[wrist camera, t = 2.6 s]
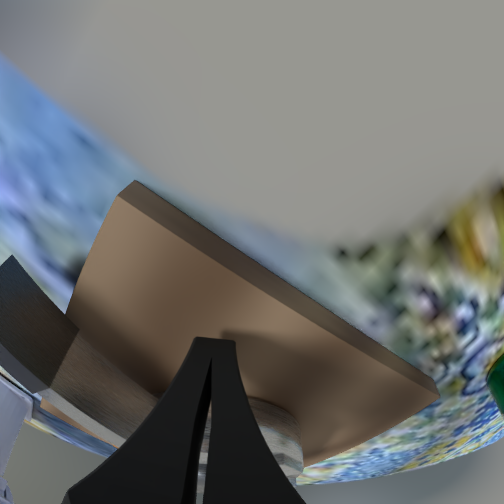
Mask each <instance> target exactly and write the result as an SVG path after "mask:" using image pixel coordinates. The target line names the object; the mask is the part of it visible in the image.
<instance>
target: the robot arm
mask: <svg viewBox="0 0 504 504" xmlns="http://www.w3.org/2000/svg"><path fill="white" fill-rule="evenodd" d="M210 402H211V429H210V438H209V448H208V457H207V467H206V476H205V486H204V495H203V504H306V503H305V502H304V500H303V499H302V498H301V496H300V495H299V494H298V493H297V491H296V490H295V488H294V487H293V486H292V484H291V483H290V481H289V480H288V478H287V477H286V475H285V474H284V472H283V470H282V469H281V467H280V466H279V464H278V463H277V461H276V459H275V457H274V456H273V454H272V452H271V450H270V448H269V447H268V445H267V443H266V441H265V439H264V437H263V435H262V433H261V430H260V428H259V426H258V424H257V421H256V419H255V417H254V414H253V412H252V409H251V406H250V404H249V401H248V398H247V395H246V392H245V389H244V385H243V382H242V378H241V374H240V370H239V366H238V360H237V353H236V342H235V341H233V340H227V339H217V338H207V337H198V336H197V337H195V338H194V339H193V341H192V344H191V346H190V349H189V351H188V353H187V355H186V357H185V359H184V361H183V363H182V365H181V366H180V368H179V370H178V372H177V373H176V375H175V377H174V378H173V380H172V382H171V383H170V385H169V386H168V388H167V390H166V391H165V392H164V394H163V395H162V397H161V398H160V400H159V401H158V402H157V404H156V405H155V407H154V408H153V409H152V411H151V412H150V413H149V415H148V416H147V417H146V418H145V420H144V421H143V422H142V423H141V424H140V426H139V427H138V428H137V429H136V430H135V431H134V432H133V434H132V435H131V436H130V437H129V438H128V439H127V440H126V441H125V442H124V443H123V444H122V445H121V446H120V447H119V448H118V449H117V450H116V451H115V452H114V453H113V454H112V455H111V456H110V457H109V458H107V459H106V460H105V461H104V462H103V463H102V464H101V465H100V466H98V467H97V468H96V469H95V470H94V471H92V472H91V473H90V474H89V475H87V476H86V477H85V478H83V479H82V480H80V481H79V482H78V483H76V484H75V485H73V486H72V487H71V488H69V490H68V491H67V492H66V494H65V496H64V499H63V501H62V503H61V504H196V496H197V495H196V494H197V482H198V470H199V459H200V453H201V447H202V442H203V437H204V432H205V427H206V422H207V417H208V412H209V407H210ZM32 409H33V399H32V398H31V397H30V396H28V395H27V394H26V393H24V392H23V391H21V390H20V389H18V388H17V387H16V386H14V385H13V384H11V383H10V382H9V381H7V380H6V379H5V378H3V377H2V376H1V375H0V475H1V476H3V474H4V471H5V468H6V465H7V462H8V459H9V457H10V454H11V451H12V448H13V446H14V443H15V441H16V438H17V436H18V433H19V431H20V428H21V426H22V423H23V421H24V419H26V420H27V421H31V418H32ZM0 504H14V503H13V497H12V494H11V492H10V489H9V487H8V485H7V481H6V480H5V479H3V478H2V477H0Z"/></svg>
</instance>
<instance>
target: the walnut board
mask: <svg viewBox="0 0 504 504" xmlns="http://www.w3.org/2000/svg"><path fill="white" fill-rule="evenodd" d="M65 315H66V316H67V317H68V318H69V319H70V320H71V321H72V322H73V323H74V324H75V325H76V326H77V327H78V328H79V329H80V330H79V332H78V334H79V335H80V336H81V337H82V338H83V339H84V340H85V341H86V342H87V343H88V344H89V345H91V346H92V347H93V348H94V349H95V350H96V351H97V352H98V353H100V354H101V355H102V356H103V357H104V358H105V359H107V360H108V361H109V362H110V363H111V364H113V365H114V366H115V367H116V368H117V369H119V370H120V371H121V372H122V373H124V374H125V375H126V376H127V377H129V378H130V379H131V380H133V381H134V382H135V383H136V384H138V385H139V386H140V387H142V388H143V389H144V390H146V391H147V392H149V393H150V394H151V395H152V394H157V393H161V392H165V391H166V390H167V388H168V386H169V385H170V383H171V382H172V380H173V378H174V377H175V375H176V373H177V372H178V370H179V368H180V366H181V365H182V363H183V361H184V359H185V357H186V355H187V353H188V351H189V349H190V346H191V344H192V341H193V339H194V338H195V337H197V336H198V337H207V338H217V339H227V340H233V341H235V342H236V353H237V360H238V366H239V370H240V374H241V378H242V382H243V385H244V389H245V392H246V395H247V398H251V399H255V400H259V401H262V402H265V403H268V404H271V405H273V406H276V407H278V408H280V409H282V410H284V411H286V412H287V413H289V414H290V415H292V416H293V417H294V418H295V419H296V420H297V422H298V424H299V426H300V432H301V442H302V453H303V464H304V468H305V467H307V466H310V465H313V464H315V463H318V462H320V461H323V460H325V459H328V458H330V457H333V456H335V455H337V454H340V453H342V452H344V451H346V450H349V449H351V448H353V447H355V446H357V445H359V444H361V443H363V442H365V441H367V440H369V439H371V438H373V437H375V436H377V435H379V434H381V433H383V432H385V431H386V430H388V429H390V428H392V427H394V426H395V425H397V424H399V423H401V422H402V421H404V420H406V419H407V418H409V417H411V416H412V415H414V414H416V413H417V412H419V411H420V410H422V409H423V408H425V407H427V406H428V405H430V404H431V403H433V402H434V401H436V400H437V399H438V398H440V394H439V392H438V390H437V387H436V385H435V383H434V380H433V379H432V378H430V377H428V376H427V375H425V374H424V373H422V372H421V371H419V370H418V369H416V368H415V367H413V366H412V365H410V364H409V363H407V362H406V361H404V360H403V359H401V358H400V357H398V356H397V355H395V354H393V353H392V352H390V351H389V350H387V349H386V348H384V347H383V346H381V345H380V344H378V343H377V342H375V341H374V340H372V339H371V338H369V337H368V336H366V335H365V334H363V333H362V332H360V331H359V330H357V329H356V328H354V327H353V326H351V325H350V324H348V323H347V322H345V321H344V320H342V319H341V318H339V317H338V316H336V315H335V314H333V313H332V312H330V311H329V310H327V309H326V308H324V307H323V306H321V305H320V304H318V303H317V302H315V301H314V300H312V299H311V298H309V297H308V296H306V295H305V294H303V293H302V292H300V291H299V290H297V289H296V288H294V287H293V286H291V285H290V284H288V283H287V282H285V281H284V280H282V279H281V278H279V277H278V276H276V275H275V274H273V273H272V272H270V271H269V270H267V269H266V268H264V267H263V266H261V265H260V264H258V263H257V262H255V261H254V260H252V259H251V258H249V257H248V256H246V255H245V254H243V253H242V252H240V251H239V250H237V249H236V248H235V247H233V246H232V245H230V244H229V243H227V242H226V241H224V240H223V239H221V238H220V237H218V236H217V235H215V234H214V233H212V232H211V231H209V230H208V229H206V228H205V227H203V226H202V225H200V224H199V223H198V222H196V221H195V220H193V219H192V218H190V217H189V216H187V215H186V214H184V213H183V212H181V211H180V210H178V209H177V208H175V207H174V206H172V205H171V204H170V203H168V202H167V201H165V200H164V199H162V198H161V197H159V196H158V195H156V194H155V193H153V192H152V191H150V190H149V189H147V188H146V187H145V186H143V185H142V184H140V183H139V182H137V181H136V180H134V181H133V182H132V183H131V184H129V185H128V186H127V187H126V188H125V189H124V190H122V191H121V192H120V193H119V194H118V195H117V196H116V198H115V200H114V202H113V204H112V206H111V208H110V210H109V212H108V214H107V216H106V218H105V220H104V222H103V224H102V226H101V228H100V230H99V232H98V234H97V236H96V239H95V241H94V243H93V245H92V247H91V250H90V252H89V254H88V257H87V259H86V261H85V264H84V266H83V268H82V271H81V273H80V276H79V278H78V281H77V283H76V286H75V289H74V291H73V294H72V297H71V299H70V302H69V305H68V308H67V310H66V313H65ZM40 407H41V408H43V409H44V410H46V411H48V412H49V413H51V414H53V415H54V416H56V417H58V418H59V419H61V420H63V421H65V422H67V423H68V424H70V425H72V426H74V427H76V428H78V429H80V430H82V431H84V432H85V433H87V434H89V435H92V436H94V437H96V438H98V439H100V440H102V441H104V442H106V443H109V442H108V441H106V440H104V439H103V438H101V437H99V436H98V435H96V434H94V433H93V432H91V431H90V430H88V429H86V428H85V427H83V426H82V425H80V424H79V423H77V422H76V421H74V420H73V419H71V418H70V417H69V416H67V415H66V414H64V413H63V412H61V411H60V410H59V409H57V408H56V407H55V406H53V405H52V404H51V403H49V402H48V401H47V400H45V399H44V398H43V397H42V400H41V405H40ZM109 444H111V443H109ZM111 445H113V444H111ZM113 446H114V447H116V446H115V445H113ZM116 448H118V447H116Z"/></svg>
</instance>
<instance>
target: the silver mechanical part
mask: <svg viewBox="0 0 504 504" xmlns="http://www.w3.org/2000/svg"><path fill="white" fill-rule="evenodd" d="M79 330H80V329H79V328H78V327H77V326H76V325H75V324H74V323H73V322H72V321H71V320H70V319H69V318H68V317H67V316H66V315H65V314H64V313H63V312H62V311H61V310H60V309H59V308H58V307H57V306H56V305H55V304H54V303H53V302H52V301H51V300H50V298H49V297H48V296H47V295H46V294H45V293H44V292H43V291H42V290H41V289H40V287H39V286H38V285H37V284H36V283H35V282H34V281H33V279H32V278H31V277H30V276H29V275H28V273H27V272H26V271H25V270H24V269H23V267H22V266H21V265H20V264H19V262H18V261H17V260H16V259H15V257H14V256H13V255H11V256H10V257H9V258H8V259H7V260H6V261H5V262H4V263H3V264H2V265H1V266H0V365H1V366H2V367H3V368H4V369H5V370H6V371H7V372H8V373H9V374H10V375H11V376H12V377H14V378H15V379H16V380H17V381H18V382H19V383H20V384H21V385H23V386H24V387H25V388H26V389H27V390H29V391H30V392H31V393H32V394H34V393H38V394H39V395H40V396H42V397H43V398H44V399H45V400H47V401H48V402H49V403H51V404H52V405H53V406H55V407H56V408H57V409H59V410H60V411H61V412H63V413H64V414H66V415H67V416H69V417H70V418H71V419H73V420H74V421H76V422H77V423H79V424H80V425H82V426H83V427H85V428H86V429H88V430H90V431H91V432H93V433H94V434H96V435H98V436H99V437H101V438H103V439H104V440H106V441H108V442H109V443H111V444H113V445H115V446H116V447H118V448H119V447H120V446H121V445H122V444H123V443H124V442H125V441H126V440H127V439H128V438H129V437H130V436H131V435H132V434H133V432H134V431H135V430H136V429H137V428H138V427H139V426H140V424H141V423H142V422H143V421H144V420H145V418H146V417H147V416H148V415H149V413H150V412H151V411H152V409H153V408H154V407H155V405H156V404H157V402H158V401H159V400H160V398H161V397H162V395H163V394H164V392H161V393H157V394H152V395H151V394H150V393H149V392H147V391H146V390H144V389H143V388H142V387H140V386H139V385H138V384H136V383H135V382H134V381H133V380H131V379H130V378H129V377H127V376H126V375H125V374H124V373H122V372H121V371H120V370H119V369H117V368H116V367H115V366H114V365H113V364H111V363H110V362H109V361H108V360H107V359H105V358H104V357H103V356H102V355H101V354H100V353H98V352H97V351H96V350H95V349H94V348H93V347H92V346H91V345H89V344H88V343H87V342H86V341H85V340H84V339H83V338H82V337H81V336H80V335H79V334H78V332H79ZM248 401H249V404H250V406H251V409H252V412H253V414H254V417H255V419H256V421H257V424H258V426H259V428H260V430H261V433H262V435H263V437H264V439H265V441H266V443H267V445H268V447H269V448H270V450H271V452H272V454H273V456H274V457H275V459H276V461H277V463H278V464H279V466H280V467H281V469H282V470H283V472H284V474H285V475H286V477H287V478H288V480H289V481H290V483H291V484H292V486H293V487H296V477H298V476H299V475H300V474H301V473H303V469H304V464H303V453H302V442H301V432H300V426H299V424H298V422H297V420H296V419H295V418H294V417H293V416H292V415H290V414H289V413H287V412H286V411H284V410H282V409H280V408H278V407H276V406H273V405H271V404H268V403H265V402H262V401H259V400H255V399H251V398H248ZM210 429H211V402H210V407H209V412H208V417H207V422H206V427H205V432H204V437H203V442H202V447H201V453H200V459H199V470H198V482H197V493H204V486H205V476H206V467H207V457H208V448H209V438H210Z"/></svg>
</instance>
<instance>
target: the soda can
mask: <svg viewBox="0 0 504 504" xmlns="http://www.w3.org/2000/svg"><path fill="white" fill-rule="evenodd" d="M487 386H488V388H489V390H490V392H491V394H492V396H493V398H494V400H495V402H496V404H497V407H498V409H499V411H500V413H501V415H502V417H503V420H504V354H503V355H502V356H501V357H500V358H499V359H498V360H497V361H496V362H495V364H494V365H493V366H492V368H491V369H490V371H489V374H488V378H487Z"/></svg>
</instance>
